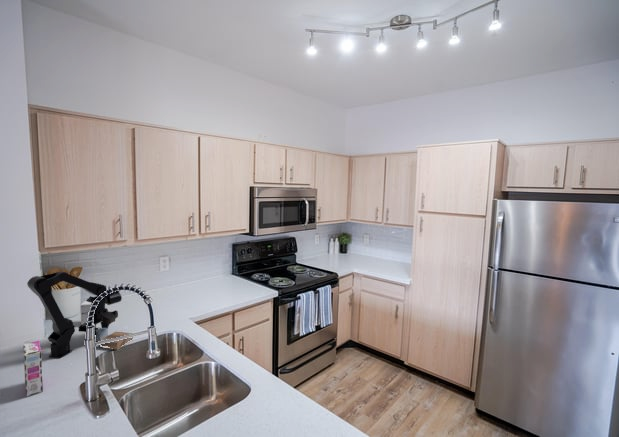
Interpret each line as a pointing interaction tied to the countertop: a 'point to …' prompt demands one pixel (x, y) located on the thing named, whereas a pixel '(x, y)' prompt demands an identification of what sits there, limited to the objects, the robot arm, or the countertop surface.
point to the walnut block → (116, 344)
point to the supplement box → (85, 311)
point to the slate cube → (101, 333)
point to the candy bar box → (33, 368)
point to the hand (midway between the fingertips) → (99, 337)
